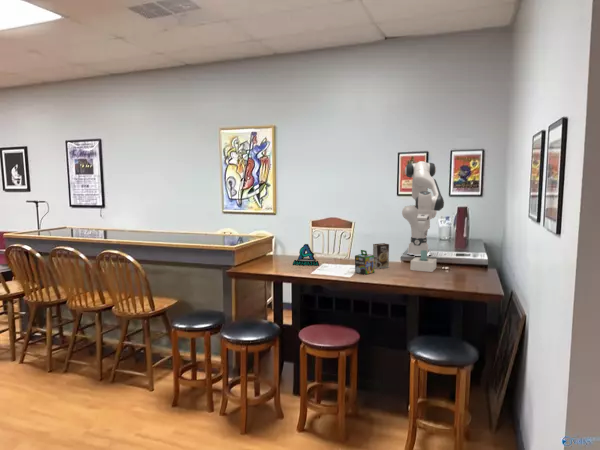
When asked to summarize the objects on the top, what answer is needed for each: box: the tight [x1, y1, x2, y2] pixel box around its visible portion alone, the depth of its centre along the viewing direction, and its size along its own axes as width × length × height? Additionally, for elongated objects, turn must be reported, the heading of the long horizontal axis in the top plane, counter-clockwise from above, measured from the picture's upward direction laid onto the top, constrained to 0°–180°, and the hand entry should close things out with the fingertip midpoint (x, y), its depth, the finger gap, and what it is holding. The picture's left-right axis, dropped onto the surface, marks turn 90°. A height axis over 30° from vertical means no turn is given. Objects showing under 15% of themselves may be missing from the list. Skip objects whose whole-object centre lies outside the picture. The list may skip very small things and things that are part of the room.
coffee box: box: [372, 242, 390, 270], centre depth 280 cm, size 9×6×16 cm
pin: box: [420, 250, 428, 261], centre depth 274 cm, size 4×4×10 cm
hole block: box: [409, 256, 437, 273], centre depth 275 cm, size 14×14×6 cm
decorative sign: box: [292, 243, 320, 267], centre depth 291 cm, size 19×2×15 cm, turn 76°
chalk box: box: [354, 249, 375, 276], centre depth 266 cm, size 9×9×15 cm
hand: (424, 237), depth 273 cm, fingers open, 8 cm apart
